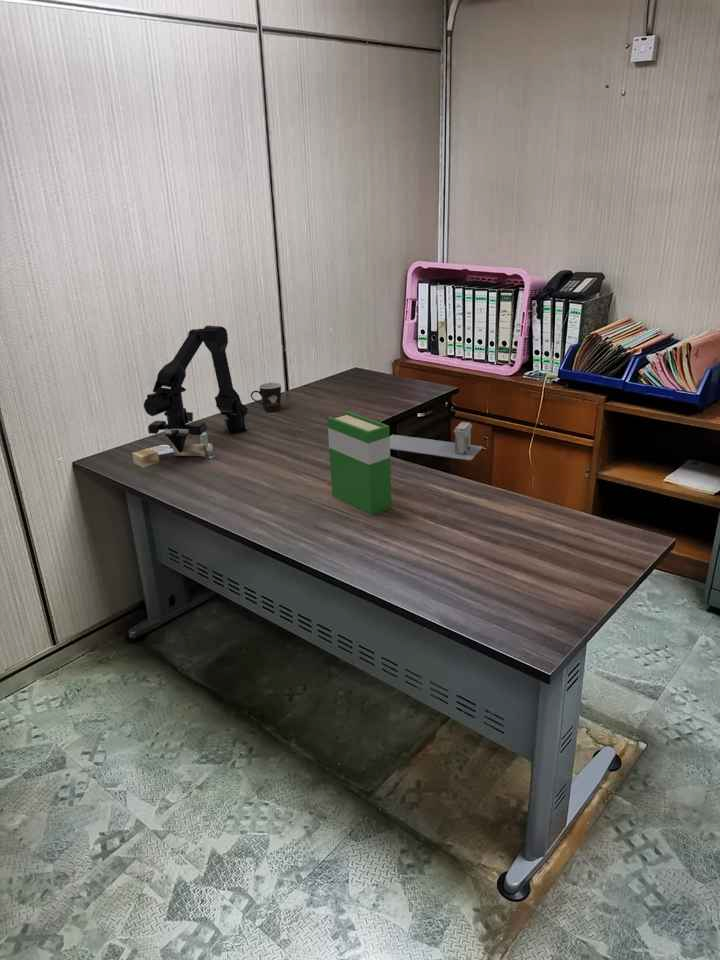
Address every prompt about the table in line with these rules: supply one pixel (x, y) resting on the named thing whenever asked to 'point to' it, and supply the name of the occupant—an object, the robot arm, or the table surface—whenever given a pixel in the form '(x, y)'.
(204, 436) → the post
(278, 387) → the coffee mug
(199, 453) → the gate rail
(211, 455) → the metal door knob
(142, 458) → the oak block
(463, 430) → the slab with upright peg
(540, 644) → the table surface
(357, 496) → the hardback book
